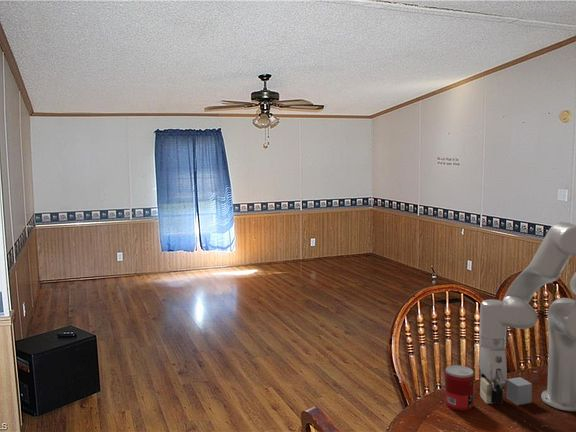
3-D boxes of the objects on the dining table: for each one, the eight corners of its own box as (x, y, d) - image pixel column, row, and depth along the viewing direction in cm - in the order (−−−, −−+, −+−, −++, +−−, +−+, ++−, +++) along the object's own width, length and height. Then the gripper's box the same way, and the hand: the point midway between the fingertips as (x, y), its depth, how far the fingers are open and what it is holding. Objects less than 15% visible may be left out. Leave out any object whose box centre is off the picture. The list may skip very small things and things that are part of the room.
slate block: (519, 395, 163) (520, 377, 162) (531, 402, 158) (532, 383, 157) (506, 397, 161) (506, 379, 161) (517, 405, 157) (517, 386, 156)
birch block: (496, 395, 163) (496, 377, 162) (502, 403, 158) (503, 384, 157) (480, 396, 163) (480, 377, 162) (486, 403, 158) (486, 384, 157)
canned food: (474, 412, 153) (475, 376, 152) (446, 410, 154) (446, 374, 153) (471, 400, 160) (471, 365, 159) (444, 398, 162) (444, 364, 161)
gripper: (517, 351, 150) (515, 409, 152) (493, 331, 167) (491, 383, 169) (491, 352, 150) (490, 409, 152) (469, 331, 167) (468, 383, 169)
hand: (490, 395), depth 160 cm, fingers open, 8 cm apart
